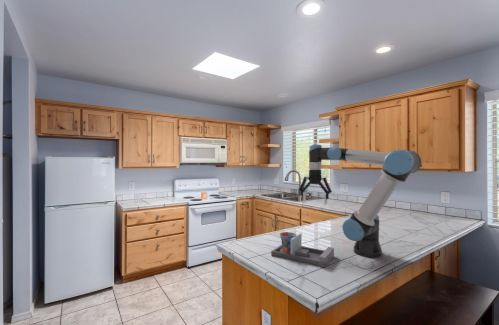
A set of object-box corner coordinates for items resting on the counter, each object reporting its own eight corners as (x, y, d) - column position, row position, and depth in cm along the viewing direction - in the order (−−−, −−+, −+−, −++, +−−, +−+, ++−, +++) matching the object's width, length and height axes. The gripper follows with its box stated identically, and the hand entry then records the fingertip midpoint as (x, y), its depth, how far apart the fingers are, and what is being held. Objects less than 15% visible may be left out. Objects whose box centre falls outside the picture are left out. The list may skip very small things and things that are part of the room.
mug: (285, 256, 139) (286, 237, 139) (276, 251, 147) (276, 233, 147) (302, 253, 145) (303, 234, 145) (292, 248, 153) (292, 230, 153)
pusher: (311, 252, 147) (311, 234, 147) (302, 260, 135) (303, 241, 135) (299, 249, 150) (299, 233, 150) (290, 257, 138) (290, 239, 138)
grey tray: (333, 256, 142) (333, 247, 142) (325, 267, 127) (325, 257, 127) (284, 246, 157) (284, 238, 157) (271, 255, 143) (271, 246, 143)
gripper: (337, 169, 156) (336, 204, 156) (298, 168, 169) (298, 200, 170) (334, 170, 150) (333, 206, 150) (294, 168, 163) (293, 202, 163)
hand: (314, 203), depth 160 cm, fingers open, 13 cm apart
